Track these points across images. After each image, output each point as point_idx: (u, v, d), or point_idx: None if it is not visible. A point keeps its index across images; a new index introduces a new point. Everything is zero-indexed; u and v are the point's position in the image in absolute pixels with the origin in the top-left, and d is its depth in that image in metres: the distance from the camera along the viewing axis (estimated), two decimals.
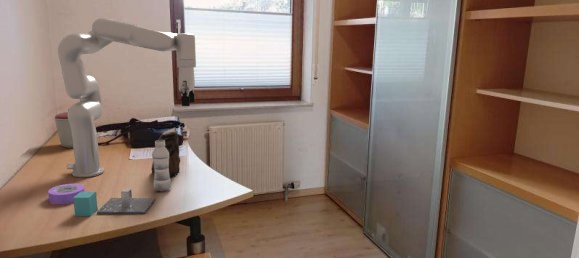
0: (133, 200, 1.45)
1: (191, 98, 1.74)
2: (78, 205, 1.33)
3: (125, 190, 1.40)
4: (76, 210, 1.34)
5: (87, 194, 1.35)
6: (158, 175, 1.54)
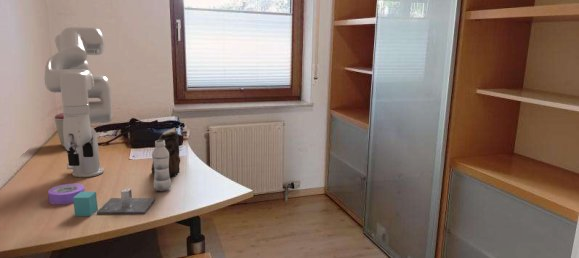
0: (133, 200, 1.45)
1: (88, 152, 1.37)
2: (78, 205, 1.33)
3: (125, 190, 1.40)
4: (76, 210, 1.34)
5: (87, 194, 1.35)
6: (158, 175, 1.54)
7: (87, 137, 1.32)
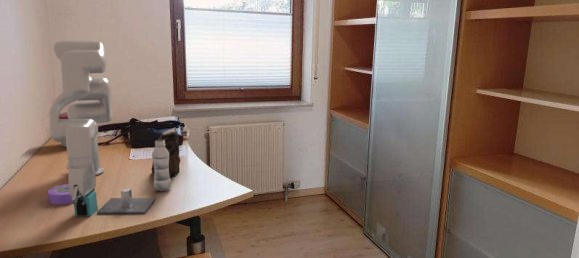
0: (133, 200, 1.45)
1: None
2: None
3: (125, 190, 1.40)
4: (76, 210, 1.34)
5: (87, 194, 1.35)
6: (158, 175, 1.54)
7: (91, 185, 1.35)
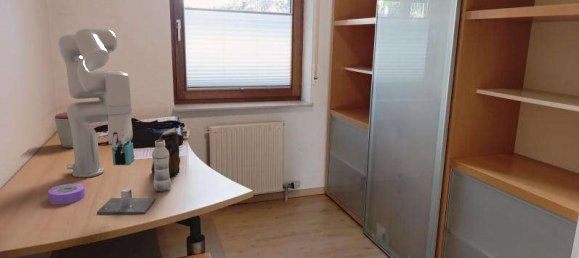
0: (133, 200, 1.45)
1: None
2: None
3: (125, 190, 1.40)
4: (114, 159, 1.35)
5: (125, 144, 1.37)
6: (158, 175, 1.54)
7: (129, 136, 1.37)
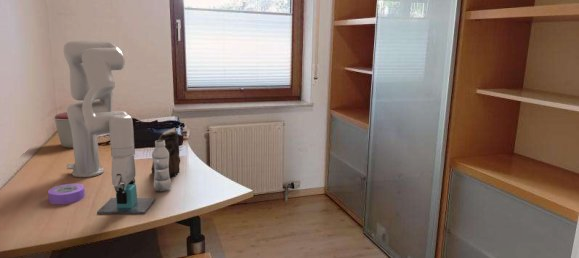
0: None
1: None
2: None
3: None
4: None
5: (128, 186, 1.40)
6: (158, 175, 1.54)
7: (132, 175, 1.40)
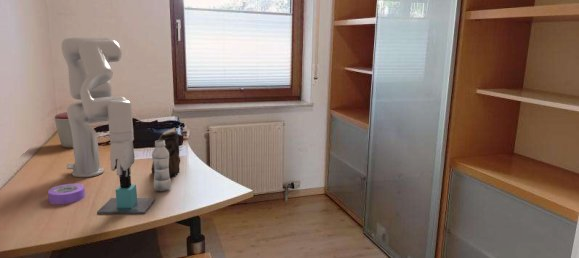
0: None
1: None
2: (120, 197, 1.38)
3: None
4: (118, 202, 1.39)
5: None
6: (158, 175, 1.54)
7: (131, 161, 1.39)
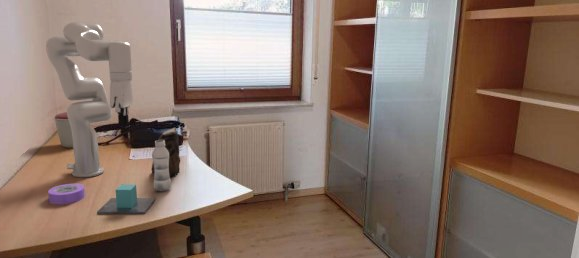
0: None
1: None
2: (120, 197, 1.38)
3: None
4: (118, 202, 1.39)
5: (128, 186, 1.40)
6: (158, 175, 1.54)
7: (129, 101, 1.49)
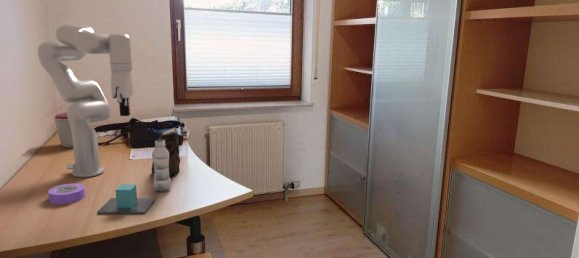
0: None
1: None
2: (120, 197, 1.38)
3: None
4: (118, 202, 1.39)
5: (128, 186, 1.40)
6: (158, 175, 1.54)
7: (130, 92, 1.54)
